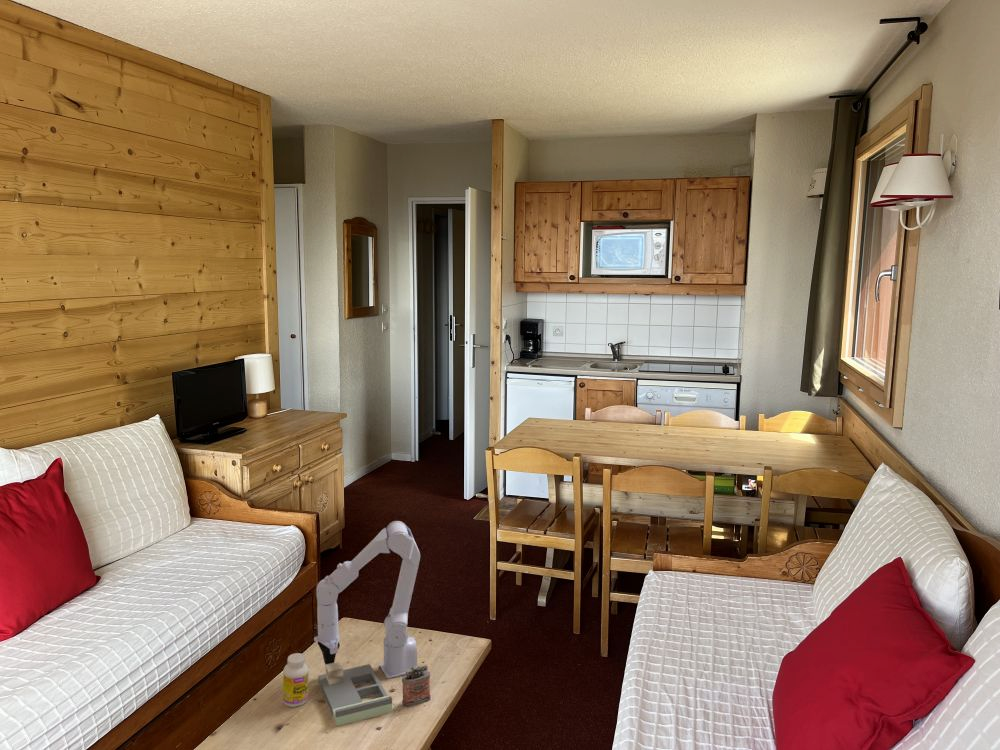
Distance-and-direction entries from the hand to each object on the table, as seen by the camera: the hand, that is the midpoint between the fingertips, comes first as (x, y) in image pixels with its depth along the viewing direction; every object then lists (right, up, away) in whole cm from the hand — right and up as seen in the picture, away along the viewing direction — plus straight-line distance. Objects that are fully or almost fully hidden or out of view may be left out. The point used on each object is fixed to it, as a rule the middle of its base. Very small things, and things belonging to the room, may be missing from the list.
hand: (329, 665), depth 219 cm
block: (+3, -2, -6) cm, 6 cm away
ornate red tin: (+27, -6, -12) cm, 29 cm away
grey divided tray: (+9, -5, -10) cm, 14 cm away
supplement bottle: (-7, -5, -12) cm, 14 cm away
